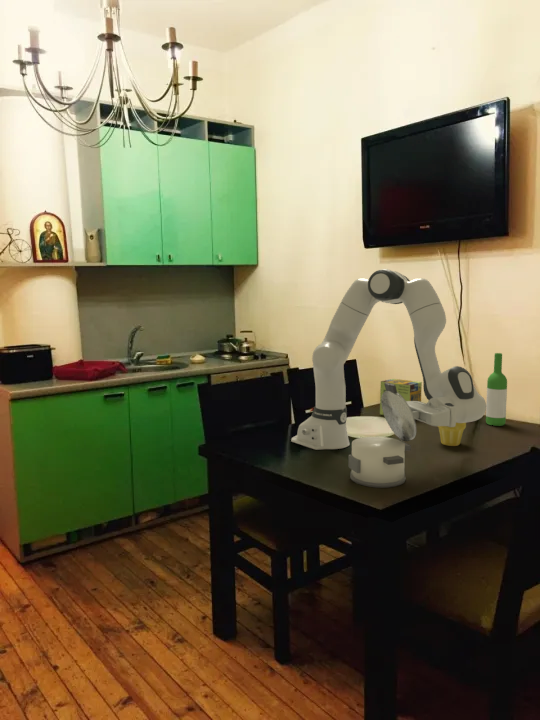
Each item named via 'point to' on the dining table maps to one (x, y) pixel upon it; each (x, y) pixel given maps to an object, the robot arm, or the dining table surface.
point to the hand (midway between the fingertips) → (400, 414)
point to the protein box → (403, 390)
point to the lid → (398, 413)
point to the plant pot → (451, 434)
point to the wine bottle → (496, 394)
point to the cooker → (378, 461)
